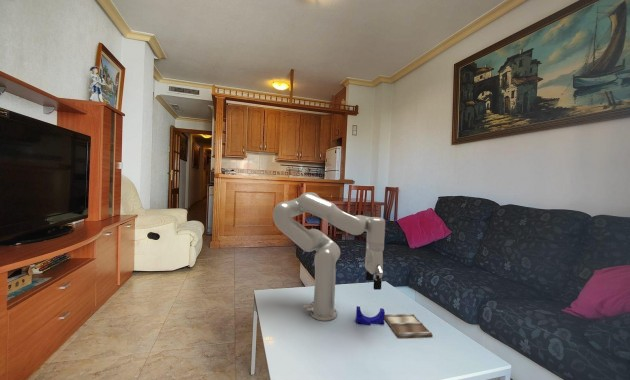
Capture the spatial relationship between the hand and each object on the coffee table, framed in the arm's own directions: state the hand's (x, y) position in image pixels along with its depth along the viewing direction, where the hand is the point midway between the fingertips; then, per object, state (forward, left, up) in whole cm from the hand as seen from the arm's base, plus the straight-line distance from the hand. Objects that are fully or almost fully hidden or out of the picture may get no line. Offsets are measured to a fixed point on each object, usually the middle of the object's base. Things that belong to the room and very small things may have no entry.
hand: (373, 284), depth 114 cm
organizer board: (+15, -3, -18) cm, 23 cm away
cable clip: (0, +1, -18) cm, 18 cm away
